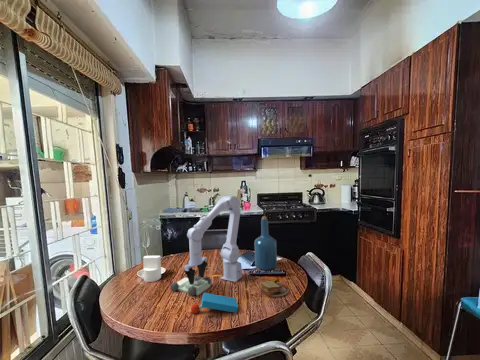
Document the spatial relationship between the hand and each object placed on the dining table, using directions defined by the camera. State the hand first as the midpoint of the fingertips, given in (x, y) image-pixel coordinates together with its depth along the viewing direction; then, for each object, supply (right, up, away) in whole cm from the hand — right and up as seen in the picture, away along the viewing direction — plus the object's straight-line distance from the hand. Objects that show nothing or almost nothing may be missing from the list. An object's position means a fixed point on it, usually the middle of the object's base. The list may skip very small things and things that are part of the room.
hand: (196, 280), depth 115 cm
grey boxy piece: (0, -3, 0) cm, 3 cm away
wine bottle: (+37, -3, +26) cm, 45 cm away
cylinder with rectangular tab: (-27, -5, +15) cm, 31 cm away
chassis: (-3, -4, +2) cm, 6 cm away
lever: (+11, -5, -19) cm, 22 cm away
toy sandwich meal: (+38, -4, -5) cm, 38 cm away
